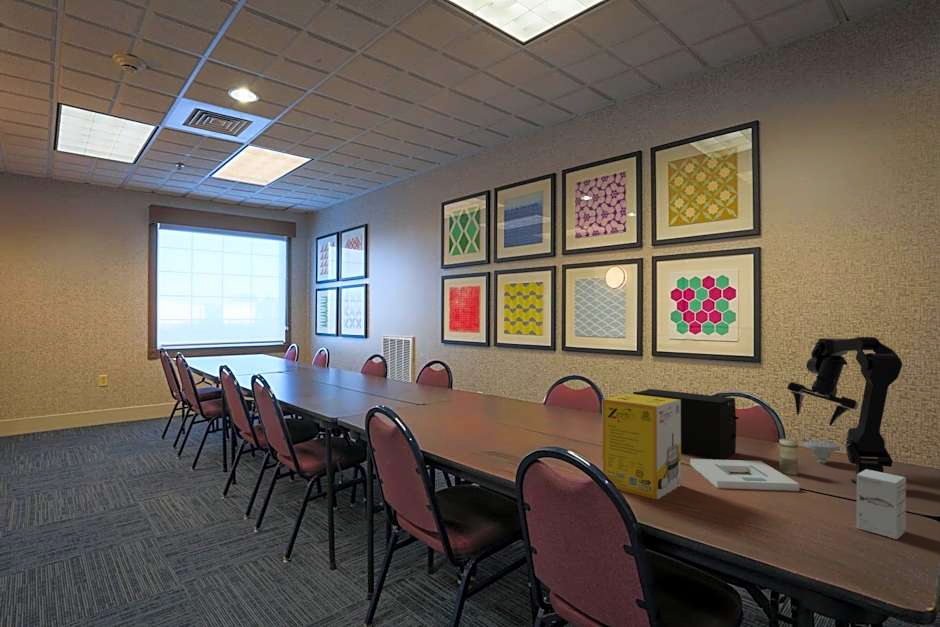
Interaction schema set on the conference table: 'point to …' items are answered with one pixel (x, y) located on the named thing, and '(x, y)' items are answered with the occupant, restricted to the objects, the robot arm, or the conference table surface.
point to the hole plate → (759, 479)
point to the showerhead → (821, 449)
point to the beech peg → (788, 456)
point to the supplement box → (881, 503)
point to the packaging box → (642, 443)
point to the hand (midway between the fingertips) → (813, 420)
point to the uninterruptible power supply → (704, 423)
